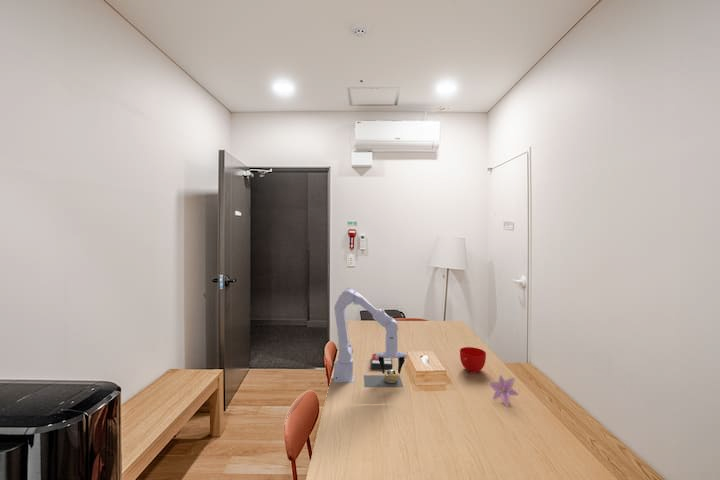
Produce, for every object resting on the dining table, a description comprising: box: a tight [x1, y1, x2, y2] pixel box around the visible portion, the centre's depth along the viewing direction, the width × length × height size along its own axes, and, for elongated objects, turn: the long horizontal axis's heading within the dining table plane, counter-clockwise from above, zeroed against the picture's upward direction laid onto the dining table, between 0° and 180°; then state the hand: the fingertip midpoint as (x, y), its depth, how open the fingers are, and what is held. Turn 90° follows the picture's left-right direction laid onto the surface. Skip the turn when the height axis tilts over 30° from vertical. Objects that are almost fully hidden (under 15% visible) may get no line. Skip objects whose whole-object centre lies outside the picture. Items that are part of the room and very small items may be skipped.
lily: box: [487, 374, 519, 407], centre depth 139 cm, size 12×12×10 cm
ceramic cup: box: [459, 346, 487, 374], centre depth 166 cm, size 13×17×10 cm
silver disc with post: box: [384, 368, 398, 384], centre depth 154 cm, size 6×6×5 cm
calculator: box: [370, 353, 393, 371], centre depth 174 cm, size 11×4×15 cm
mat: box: [363, 374, 404, 388], centre depth 154 cm, size 18×12×1 cm, turn 92°
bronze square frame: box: [384, 369, 399, 382], centre depth 154 cm, size 6×6×3 cm
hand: (391, 372), depth 154 cm, fingers open, 7 cm apart
